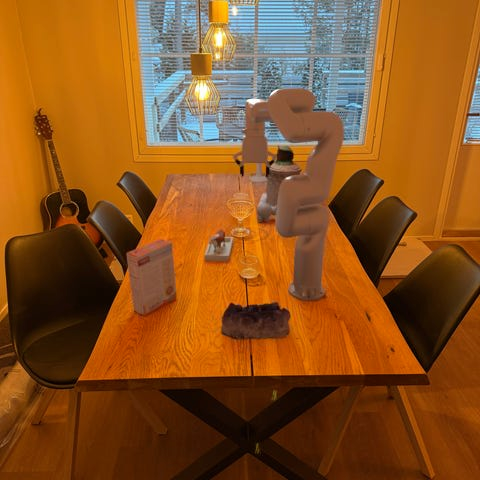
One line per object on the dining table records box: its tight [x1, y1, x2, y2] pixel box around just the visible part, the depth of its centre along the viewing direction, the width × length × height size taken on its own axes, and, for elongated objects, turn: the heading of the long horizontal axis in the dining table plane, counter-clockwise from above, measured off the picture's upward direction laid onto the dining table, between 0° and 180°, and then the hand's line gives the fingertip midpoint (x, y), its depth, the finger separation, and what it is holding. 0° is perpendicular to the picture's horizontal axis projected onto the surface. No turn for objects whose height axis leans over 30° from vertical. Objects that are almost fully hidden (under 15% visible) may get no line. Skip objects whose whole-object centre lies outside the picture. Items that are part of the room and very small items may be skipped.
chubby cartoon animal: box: [256, 203, 277, 223], centre depth 213 cm, size 8×12×9 cm, turn 89°
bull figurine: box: [208, 228, 226, 253], centre depth 180 cm, size 4×13×8 cm, turn 162°
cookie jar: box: [257, 144, 303, 207], centre depth 232 cm, size 25×25×32 cm
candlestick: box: [248, 163, 268, 184], centre depth 276 cm, size 13×13×30 cm
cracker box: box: [125, 238, 178, 317], centre depth 140 cm, size 14×6×21 cm, turn 141°
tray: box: [204, 236, 234, 262], centre depth 182 cm, size 19×10×2 cm, turn 176°
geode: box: [220, 301, 292, 340], centre depth 129 cm, size 20×12×10 cm, turn 97°
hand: (254, 176), depth 176 cm, fingers open, 9 cm apart
